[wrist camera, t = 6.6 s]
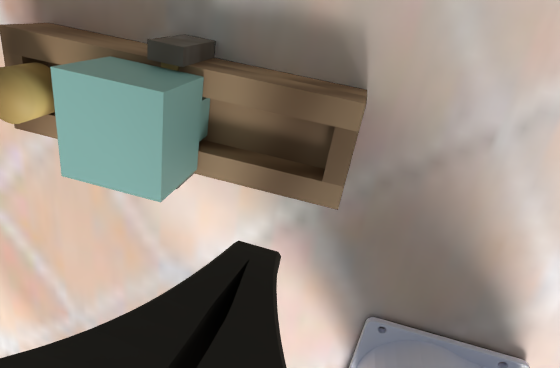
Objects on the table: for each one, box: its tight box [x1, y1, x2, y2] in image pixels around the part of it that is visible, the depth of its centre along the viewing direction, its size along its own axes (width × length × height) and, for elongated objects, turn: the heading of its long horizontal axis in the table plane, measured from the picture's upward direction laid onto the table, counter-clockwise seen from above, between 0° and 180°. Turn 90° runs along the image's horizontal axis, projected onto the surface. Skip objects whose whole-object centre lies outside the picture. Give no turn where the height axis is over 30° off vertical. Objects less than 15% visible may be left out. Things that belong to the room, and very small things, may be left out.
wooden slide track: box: [0, 23, 367, 210], centre depth 18 cm, size 17×7×5 cm, turn 81°
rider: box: [50, 56, 210, 202], centre depth 17 cm, size 4×4×5 cm
